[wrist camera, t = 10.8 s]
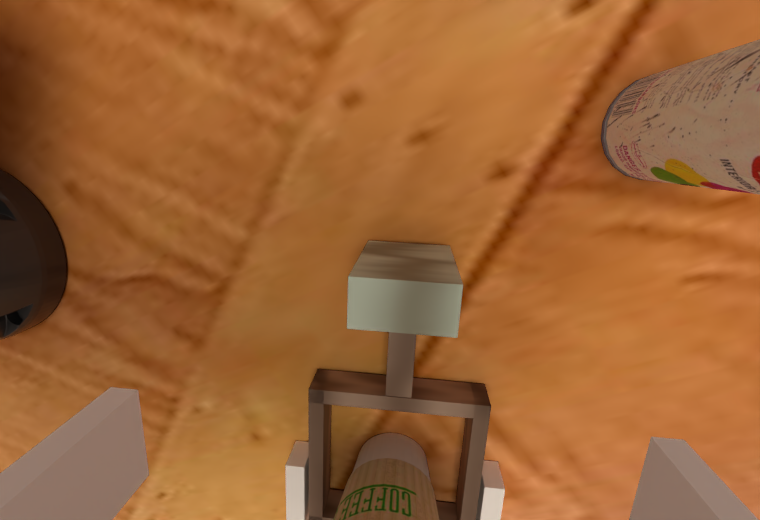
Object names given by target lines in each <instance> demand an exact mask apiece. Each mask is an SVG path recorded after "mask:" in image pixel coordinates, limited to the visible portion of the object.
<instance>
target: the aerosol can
mask: <svg viewBox="0 0 760 520" xmlns="http://www.w3.org/2000/svg"><path fill="white" fill-rule="evenodd" d="M601 141H602V145H603V149H604V154H605V155H606V157H607V158H608V160H609V161H610V163H611V164H612V166H613V167H614V168H616V169H617V170H618V171H620V172H621V173H623V174H624V175H626V176H630V177H633V178H637V179H641V180H649V181H657V182H665V183H673V184H681V185H689V186H697V187H705V188H713V189H721V190H729V191H737V192H745V193H753V194H760V40H757V41H754V42H751V43H748V44H745V45H742V46H738V47H735V48H732V49H729V50H726V51H723V52H720V53H717V54H714V55H711V56H708V57H705V58H702V59H699V60H696V61H693V62H690V63H687V64H684V65H681V66H678V67H675V68H672V69H669V70H665V71H662V72H659V73H657V74H653V75H651V76H648V77H645V78H642V79H640V80H637V81H635V82H634V83H632V84H631V85H629V86H628V87H627V88H625V89H624V90H623V91H621V92H620V93H619V95H618V96H617V97H616V98H615V100H614V101H613V102H612V104H611V105H610V106H609V108H608V111H607V113H606V116H605V118H604V120H603V124H602V134H601Z"/></svg>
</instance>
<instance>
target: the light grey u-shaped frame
mask: <svg viewBox="0 0 760 520" xmlns="http://www.w3.org/2000/svg"><path fill="white" fill-rule="evenodd" d="M285 468H286V520H309V442H305V441H296V442H295V444H294V446H293V449H292V451H291V453H290V456H289V458H288V461H287V463H286V465H285ZM504 493H505V487H504V483H503V480H502V476H501V472H500V468H499V464H498V462H496V461H487V460H484V462H483V469H482V476H481V484H480V491H479V498H478V505H477V513H476V520H500V518H501V512H502V506H503V499H504Z"/></svg>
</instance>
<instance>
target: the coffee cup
mask: <svg viewBox="0 0 760 520" xmlns="http://www.w3.org/2000/svg"><path fill="white" fill-rule="evenodd" d="M333 520H439V515H438V510H437V505H436V499H435V494H434V489H433V487H432V484H431V481H430V476H429V470H428V465H427V459H426V455H425V453H424V451H423V449H422V448H421V446H420V445H419V444H418V443H417V442H415V441H414V440H413V439H411V438H409V437H407V436H405V435H402V434H398V433H383V434H379V435H376V436H374V437H372V438H371V439H369V440H368V441H367V442H366V443H365V444H364V445H363V446H362V448H361V450H360V452H359V455H358V458H357V461H356V464H355V467H354V469H353V472H352V474H351V475H350V477H349V479H348V481H347V484H346V487H345V489H344V492H343V495H342V497H341V500H340V503H339V506H338V508H337V511H336V514H335V517H334V519H333Z"/></svg>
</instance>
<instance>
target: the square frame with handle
mask: <svg viewBox="0 0 760 520" xmlns="http://www.w3.org/2000/svg"><path fill="white" fill-rule="evenodd" d="M462 290H463V283H462V280H461V277H460V274H459V271H458V268H457V265H456V262H455V259H454V256H453V254H452V251H451V248H450V246H447V245H432V244H416V243H401V242H386V241H370V240H368V242H367V244H366V246H365V247H364V249H363V251H362V253H361V255H360V256H359V258H358V260H357V262H356V264H355V265H354V267H353V269H352V271H351V272H350V274H349V276H348V305H347V329H357V330H369V331H381V332H389V341H388V359H387V375H378V374H366V373H355V372H344V371H333V370H322V369H318V370H317V372H316V374H315V376H314V379H313V381H312V383H311V385H310V387H309V520H333V519H334V517H335V514H336V511H337V508H338V506H339V503H340V500H341V497H342V495H343V492H344V491H341V490H332V489H330V445H331V405H340V406H350V407H360V408H371V409H381V410H391V411H402V412H412V413H422V414H432V415H443V416H453V417H463V418H466V421H465V429H464V438H463V446H462V454H461V463H460V471H459V479H458V488H457V496H456V503H447V502H438V501H436V505H437V510H438V515H439V520H476V513H477V505H478V498H479V491H480V484H481V476H482V469H483V462H484V454H485V447H486V440H487V432H488V425H489V418H490V411H491V404H490V401H489V397H488V394H487V390H486V387H485V384H477V383H466V382H455V381H444V380H433V379H422V378H413V370H414V357H415V344H416V334H418V335H430V336H442V337H454V338H457V337H458V328H459V319H460V309H461V300H462Z"/></svg>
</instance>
